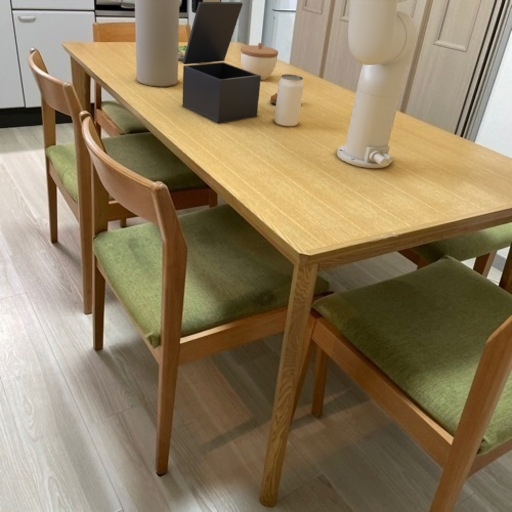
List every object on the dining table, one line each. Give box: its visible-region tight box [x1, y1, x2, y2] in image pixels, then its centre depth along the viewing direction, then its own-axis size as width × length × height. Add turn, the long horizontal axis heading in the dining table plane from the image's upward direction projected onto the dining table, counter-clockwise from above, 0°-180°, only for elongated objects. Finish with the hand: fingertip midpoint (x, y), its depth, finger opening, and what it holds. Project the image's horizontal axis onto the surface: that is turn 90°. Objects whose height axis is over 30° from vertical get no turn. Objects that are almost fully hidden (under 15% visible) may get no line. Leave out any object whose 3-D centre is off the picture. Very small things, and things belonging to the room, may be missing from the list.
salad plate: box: [178, 45, 187, 62], centre depth 191 cm, size 19×18×5 cm
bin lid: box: [182, 0, 244, 65], centre depth 135 cm, size 16×14×5 cm
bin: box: [181, 61, 262, 124], centre depth 138 cm, size 16×14×11 cm
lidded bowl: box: [239, 42, 279, 81], centre depth 175 cm, size 13×13×11 cm
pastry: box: [269, 92, 278, 105], centre depth 153 cm, size 9×7×4 cm
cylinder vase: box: [134, 0, 180, 88], centre depth 154 cm, size 12×12×25 cm
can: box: [273, 73, 305, 128], centre depth 135 cm, size 6×6×12 cm
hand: (206, 12), depth 133 cm, fingers closed on bin lid, 5 cm apart
